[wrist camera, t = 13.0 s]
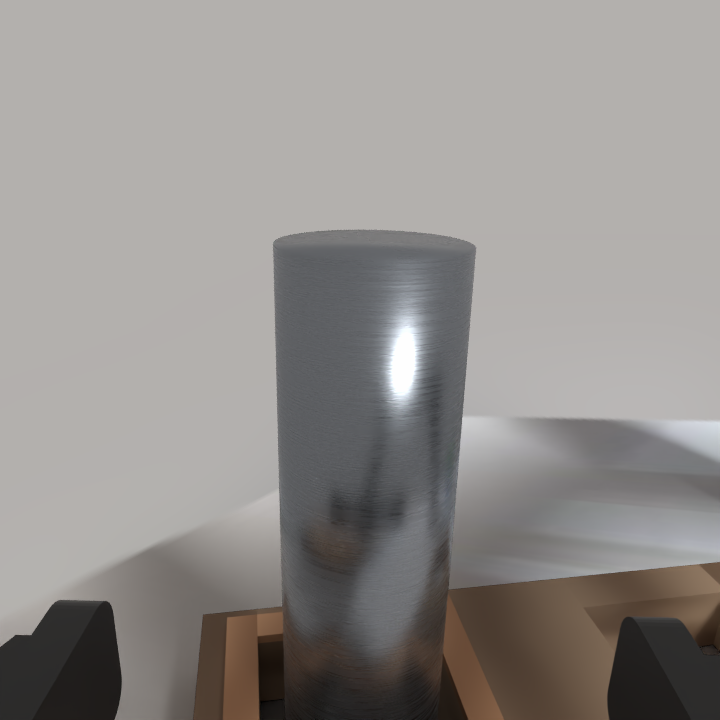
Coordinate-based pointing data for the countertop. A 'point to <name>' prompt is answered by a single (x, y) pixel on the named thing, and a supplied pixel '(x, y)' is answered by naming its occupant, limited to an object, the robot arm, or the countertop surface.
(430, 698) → the metal peg
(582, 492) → the countertop surface
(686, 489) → the countertop surface
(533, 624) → the wooden peg holder
